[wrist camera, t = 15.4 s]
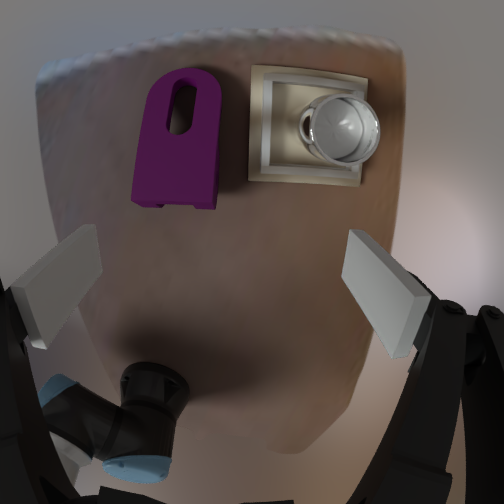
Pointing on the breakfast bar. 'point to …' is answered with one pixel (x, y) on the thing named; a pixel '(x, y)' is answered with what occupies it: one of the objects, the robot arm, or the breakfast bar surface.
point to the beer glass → (336, 129)
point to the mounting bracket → (179, 145)
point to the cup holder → (275, 125)
